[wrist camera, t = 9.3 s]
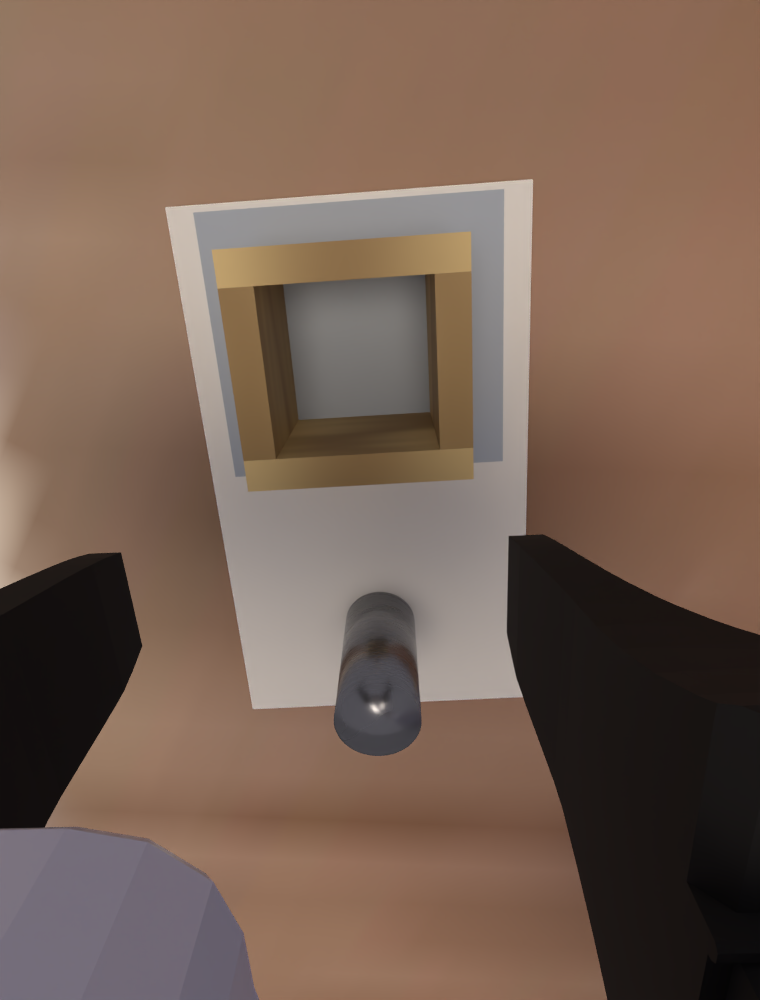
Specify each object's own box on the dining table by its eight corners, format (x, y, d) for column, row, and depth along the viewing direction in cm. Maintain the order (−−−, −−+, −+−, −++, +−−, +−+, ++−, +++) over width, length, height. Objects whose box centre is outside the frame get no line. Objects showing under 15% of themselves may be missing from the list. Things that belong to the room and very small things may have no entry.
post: (411, 575, 22) (419, 683, 16) (415, 633, 23) (423, 754, 17) (345, 579, 22) (329, 687, 16) (350, 636, 23) (338, 757, 17)
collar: (453, 238, 17) (471, 231, 13) (457, 435, 19) (473, 478, 15) (250, 252, 17) (211, 250, 13) (275, 446, 19) (247, 491, 15)
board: (525, 183, 17) (534, 178, 16) (517, 679, 24) (523, 700, 22) (176, 210, 18) (162, 206, 17) (258, 691, 24) (251, 712, 23)
